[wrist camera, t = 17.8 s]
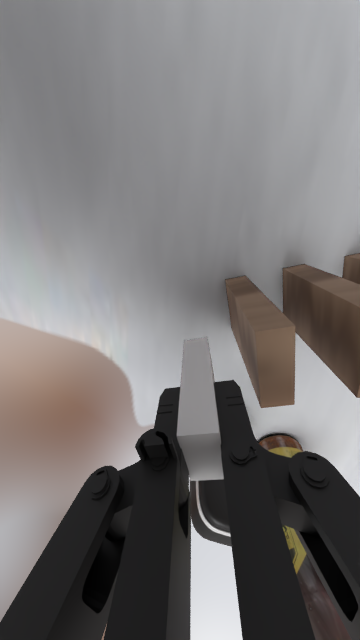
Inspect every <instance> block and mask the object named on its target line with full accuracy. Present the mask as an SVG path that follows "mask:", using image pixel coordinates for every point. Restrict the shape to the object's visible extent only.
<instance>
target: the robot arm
mask: <svg viewBox="0 0 360 640" xmlns="http://www.w3.org/2000/svg"><path fill="white" fill-rule="evenodd" d="M135 448H136V450H137V452H138V454H139V456H140V459H141V460H140V461H138V462H137V463H135V464H133V465H131V466H129V467H126V468H124V469H122V470H119V471H117V469H116V468H114V467H112V466H104V467H101V468H99V469H97V470H96V471H95V472H94V473H92V474H91V476H90V477H89V478H88V479H87V481H86V482H85V483H84V485H83V487H82V488H81V490H80V491H79V493H78V495H77V496H76V498H75V500H74V501H73V503H72V505H71V506H70V508H69V510H68V512H67V513H66V515H65V516H64V518H63V520H62V521H61V523H60V524H59V526H58V528H57V530H56V531H55V533H54V534H53V536H52V538H51V540H50V541H49V543H48V544H47V546H46V548H45V549H44V551H43V553H42V554H41V556H40V558H39V559H38V561H37V562H36V564H35V566H34V567H33V569H32V571H31V572H30V574H29V576H28V577H27V579H26V581H25V583H24V584H23V586H22V587H21V589H20V591H19V592H18V594H17V596H16V597H15V599H14V600H13V602H12V604H11V605H10V607H9V609H8V610H7V612H6V614H5V616H4V617H3V619H2V621H1V622H0V640H101V639H102V636H103V633H104V630H105V627H106V624H107V627H106V631H105V636H104V640H190V578H191V575H190V574H191V571H190V570H191V497H190V491H189V487H188V485H189V477H190V480H191V481H200V480H218V479H224V485H225V493H226V502H227V510H228V518H229V527H230V535H231V544H232V552H233V560H234V569H235V577H236V586H237V594H238V603H239V611H240V619H241V628H242V637H243V640H316V639H315V636H314V632H313V629H312V626H311V622H310V619H309V615H308V612H307V609H306V605H305V602H304V598H303V595H302V592H301V588H300V585H299V581H298V578H297V575H296V571H295V568H294V564H293V561H292V557H291V554H290V551H289V547H288V544H287V540H286V537H285V534H284V530H283V527H282V525H285V526H287V527H290V528H293V529H294V530H295V532H296V534H297V536H298V538H299V540H300V542H301V544H302V546H303V548H304V550H305V551H306V553H307V555H308V557H309V559H310V561H311V563H312V565H313V567H314V569H315V571H316V573H317V574H318V576H319V578H320V580H321V582H322V584H323V586H324V588H325V590H326V592H327V594H328V595H329V597H330V599H331V601H332V603H333V605H334V607H335V609H336V611H337V613H338V615H339V617H340V618H341V620H342V622H343V624H344V626H345V628H346V630H347V632H348V634H349V636H350V638H351V639H352V640H360V497H359V495H358V494H357V493H356V492H355V491H354V489H353V488H352V487H351V486H350V485H349V484H348V482H347V481H346V480H345V479H344V478H343V476H342V475H341V474H340V473H339V472H338V470H337V469H336V468H335V467H334V466H333V465H332V464H331V463H330V462H329V461H328V460H327V459H325V458H324V457H322V456H320V455H318V454H316V453H312V452H308V451H304V452H298V453H296V454H295V455H293V456H292V457H291V458H290V457H286V456H282V455H278V454H275V453H272V452H270V451H268V450H266V449H265V448H263V447H262V446H261V445H260V444H259V443H258V442H257V440H256V439H255V437H254V434H253V431H252V428H251V424H250V421H249V417H248V414H247V410H246V407H245V404H244V400H243V397H242V393H241V389H240V387H239V386H238V385H237V383H236V382H235V381H234V380H230V381H221V382H215V381H214V373H213V367H212V361H211V356H210V350H209V344H208V338H207V337H204V338H197V339H190V340H184V346H183V359H182V372H181V385H180V387H176V388H168V389H165V390H164V392H163V393H162V395H161V396H160V399H159V405H158V410H157V415H156V420H155V426H154V429H150V430H149V431H147V432H145V433H144V434H143V435H142V436H141V437H140V438H139V439H138V441H137V443H136V446H135ZM107 621H108V622H107Z"/></svg>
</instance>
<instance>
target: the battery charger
mask: <svg viewBox="0 0 360 640" xmlns="http://www.w3.org/2000/svg"><path fill="white" fill-rule="evenodd" d="M190 497H191V519H192V523H193V526H194V528H195V530H196V531H197V532H198V533H199V534H200V535H201V536H202V537H203V538H205V539H208V540H210V541H214V542H217V543H220V544H224V545H227V546H232V544H231V535H230V527H229V518H228V510H227V502H226V493H225V485H224V479H218V480H200V481H191V480H190Z"/></svg>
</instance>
